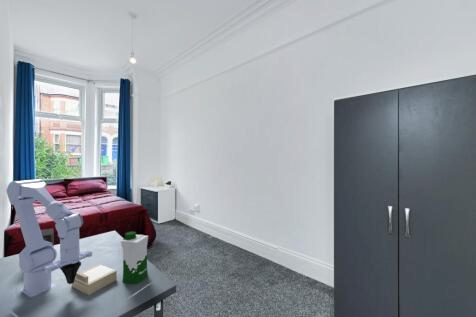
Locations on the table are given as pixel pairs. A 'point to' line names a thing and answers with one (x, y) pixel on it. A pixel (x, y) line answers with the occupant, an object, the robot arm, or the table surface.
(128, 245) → the milk carton
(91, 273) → the lid
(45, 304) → the table surface
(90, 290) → the box
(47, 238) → the tampon box
